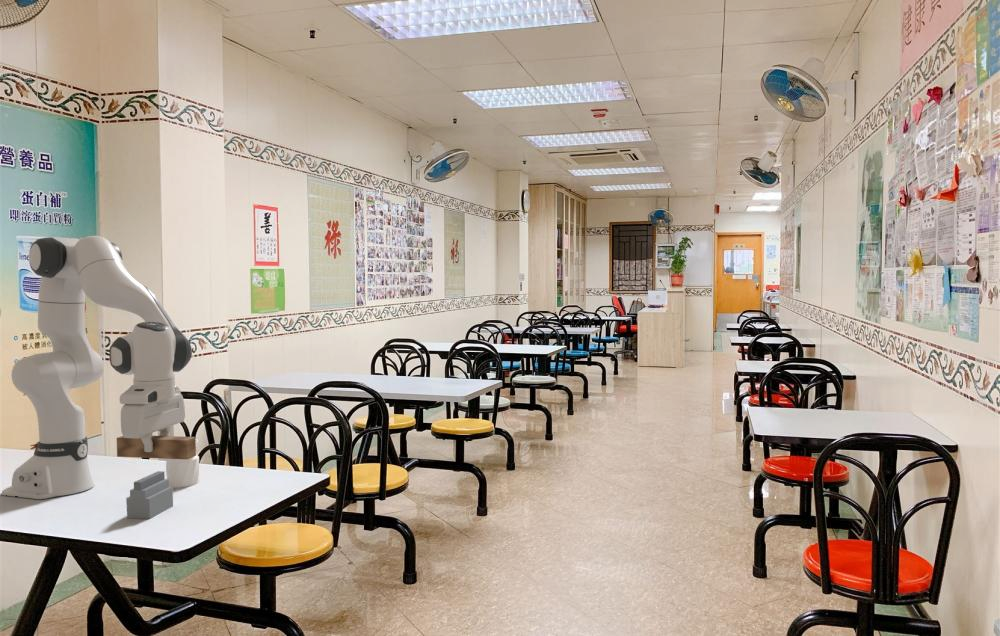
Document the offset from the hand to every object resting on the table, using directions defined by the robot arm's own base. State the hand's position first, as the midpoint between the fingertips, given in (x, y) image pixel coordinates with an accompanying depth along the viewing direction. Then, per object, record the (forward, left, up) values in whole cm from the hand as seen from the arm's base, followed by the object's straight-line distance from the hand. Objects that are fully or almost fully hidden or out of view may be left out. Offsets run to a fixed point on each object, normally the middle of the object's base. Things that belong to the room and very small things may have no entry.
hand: (156, 448), depth 170 cm
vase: (-14, +34, -19) cm, 41 cm away
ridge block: (-8, +9, -18) cm, 22 cm away
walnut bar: (0, 0, -2) cm, 2 cm away
